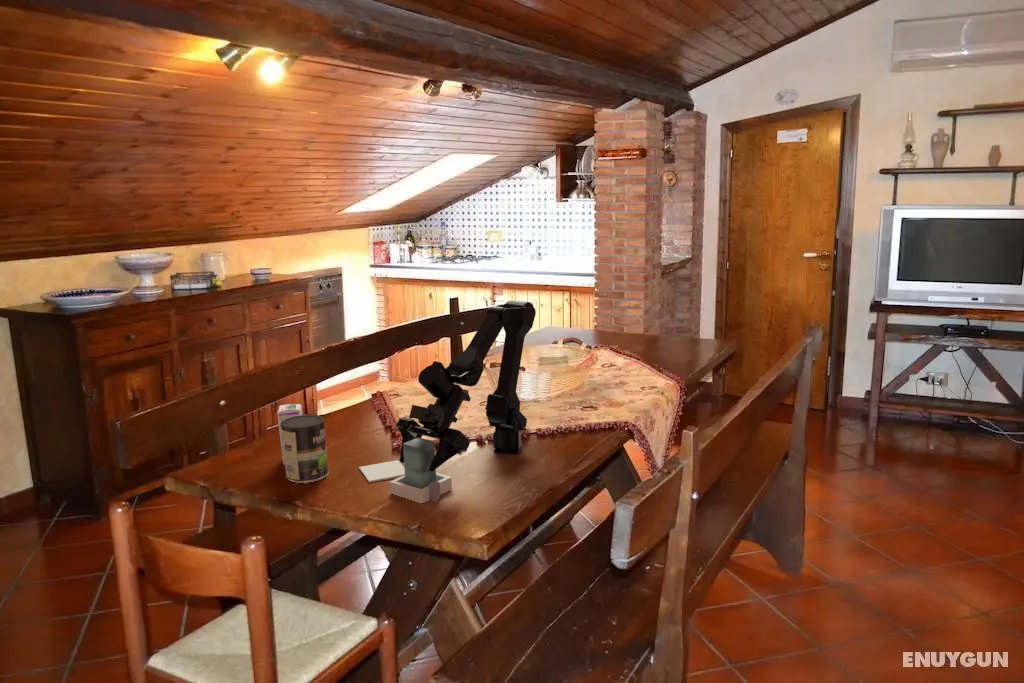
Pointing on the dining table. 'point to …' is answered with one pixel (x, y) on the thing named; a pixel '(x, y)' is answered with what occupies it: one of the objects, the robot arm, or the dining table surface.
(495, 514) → the dining table surface
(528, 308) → the robot arm
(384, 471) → the mat
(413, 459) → the post
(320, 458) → the coffee can
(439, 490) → the collar
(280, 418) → the syrup box
